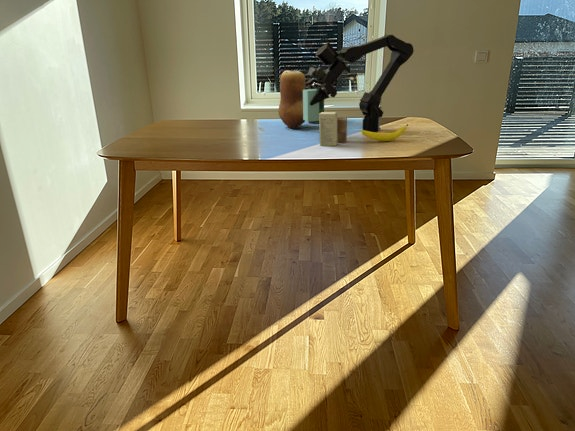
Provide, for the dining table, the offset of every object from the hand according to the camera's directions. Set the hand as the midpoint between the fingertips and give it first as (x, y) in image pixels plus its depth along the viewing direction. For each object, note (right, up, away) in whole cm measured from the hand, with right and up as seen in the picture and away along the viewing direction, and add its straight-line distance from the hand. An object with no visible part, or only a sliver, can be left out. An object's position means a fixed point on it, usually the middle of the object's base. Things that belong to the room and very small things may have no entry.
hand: (307, 104), depth 170 cm
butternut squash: (-6, -4, +25) cm, 26 cm away
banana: (+29, -16, -5) cm, 34 cm away
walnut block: (+13, -16, -3) cm, 21 cm away
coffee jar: (+6, +1, +35) cm, 36 cm away
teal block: (+1, -6, +3) cm, 7 cm away
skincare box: (+8, -18, -7) cm, 21 cm away
